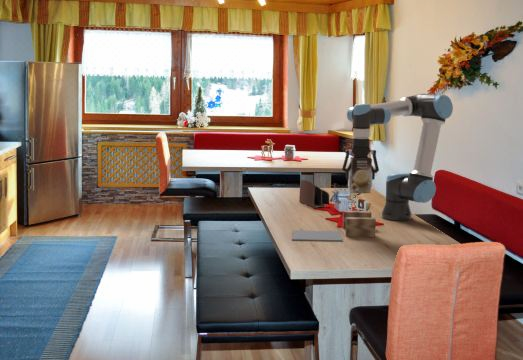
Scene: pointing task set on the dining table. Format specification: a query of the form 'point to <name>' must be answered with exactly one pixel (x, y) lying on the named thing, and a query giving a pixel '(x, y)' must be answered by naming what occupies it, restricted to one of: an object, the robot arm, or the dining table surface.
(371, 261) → the dining table surface
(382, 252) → the dining table surface
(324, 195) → the letter holder
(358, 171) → the coffee box
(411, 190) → the robot arm
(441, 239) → the dining table surface
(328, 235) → the rubber mat
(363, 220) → the packet holder
